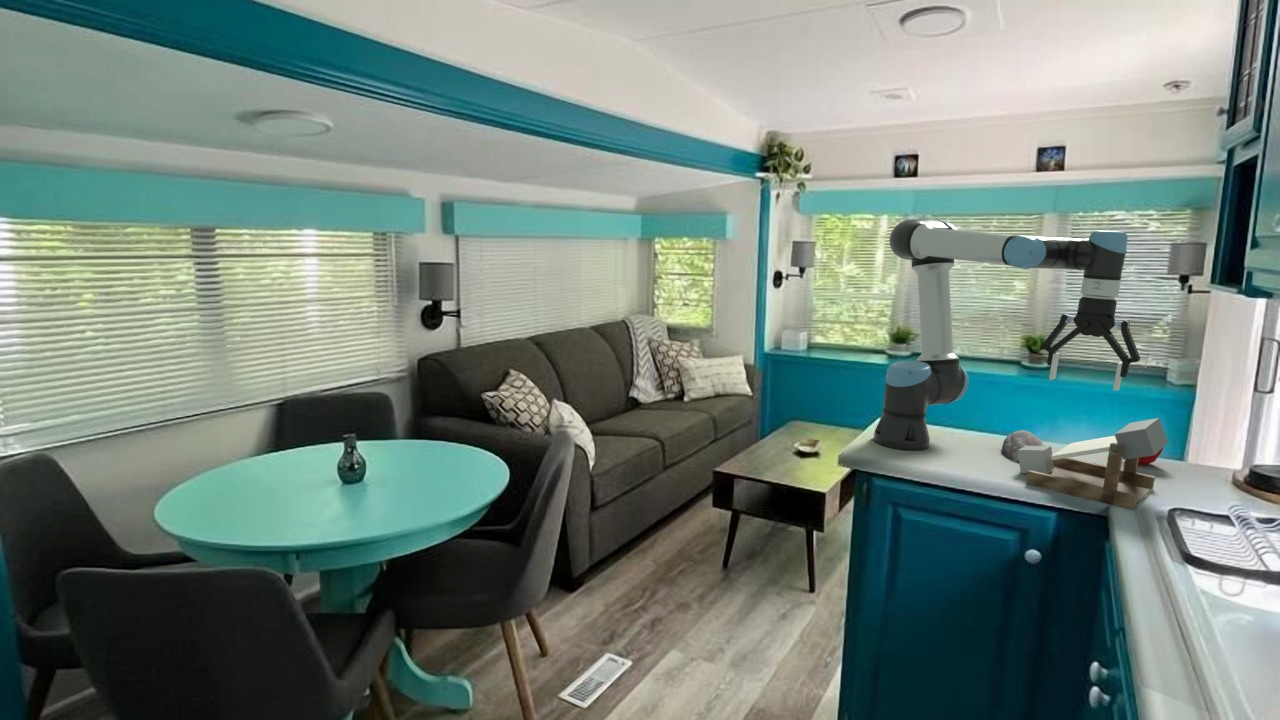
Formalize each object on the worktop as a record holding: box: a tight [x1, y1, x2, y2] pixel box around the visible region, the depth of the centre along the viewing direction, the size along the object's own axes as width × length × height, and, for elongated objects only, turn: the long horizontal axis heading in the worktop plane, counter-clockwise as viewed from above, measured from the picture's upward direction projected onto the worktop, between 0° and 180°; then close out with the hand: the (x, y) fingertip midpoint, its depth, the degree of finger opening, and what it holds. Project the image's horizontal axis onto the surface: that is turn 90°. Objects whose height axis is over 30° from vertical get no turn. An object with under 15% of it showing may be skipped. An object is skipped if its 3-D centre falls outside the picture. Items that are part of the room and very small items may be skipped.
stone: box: [1001, 429, 1045, 462], centre depth 192 cm, size 17×10×10 cm
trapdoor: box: [1051, 417, 1169, 461], centre depth 165 cm, size 20×18×6 cm
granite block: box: [1018, 445, 1054, 474], centre depth 177 cm, size 6×6×6 cm
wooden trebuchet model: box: [1025, 443, 1156, 512], centre depth 168 cm, size 22×22×14 cm
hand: (1083, 384), depth 168 cm, fingers open, 13 cm apart
